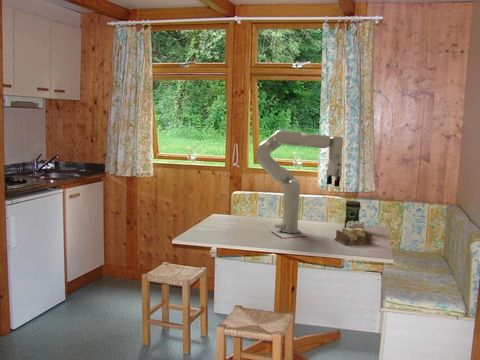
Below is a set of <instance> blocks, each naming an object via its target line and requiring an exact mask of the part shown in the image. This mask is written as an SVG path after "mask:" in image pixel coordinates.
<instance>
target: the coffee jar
mask: <svg viewBox="0 0 480 360" xmlns="http://www.w3.org/2000/svg"><path fill="white" fill-rule="evenodd" d="M344 209H345V218H344V222H343V223H344V224H343V228H346V224H347V222H348V221H350V222H351V221H354V222H356V221H358V222H359V223H360V211H361V202H360V201H355V200H347V201H346V202H345V206H344Z"/></svg>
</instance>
